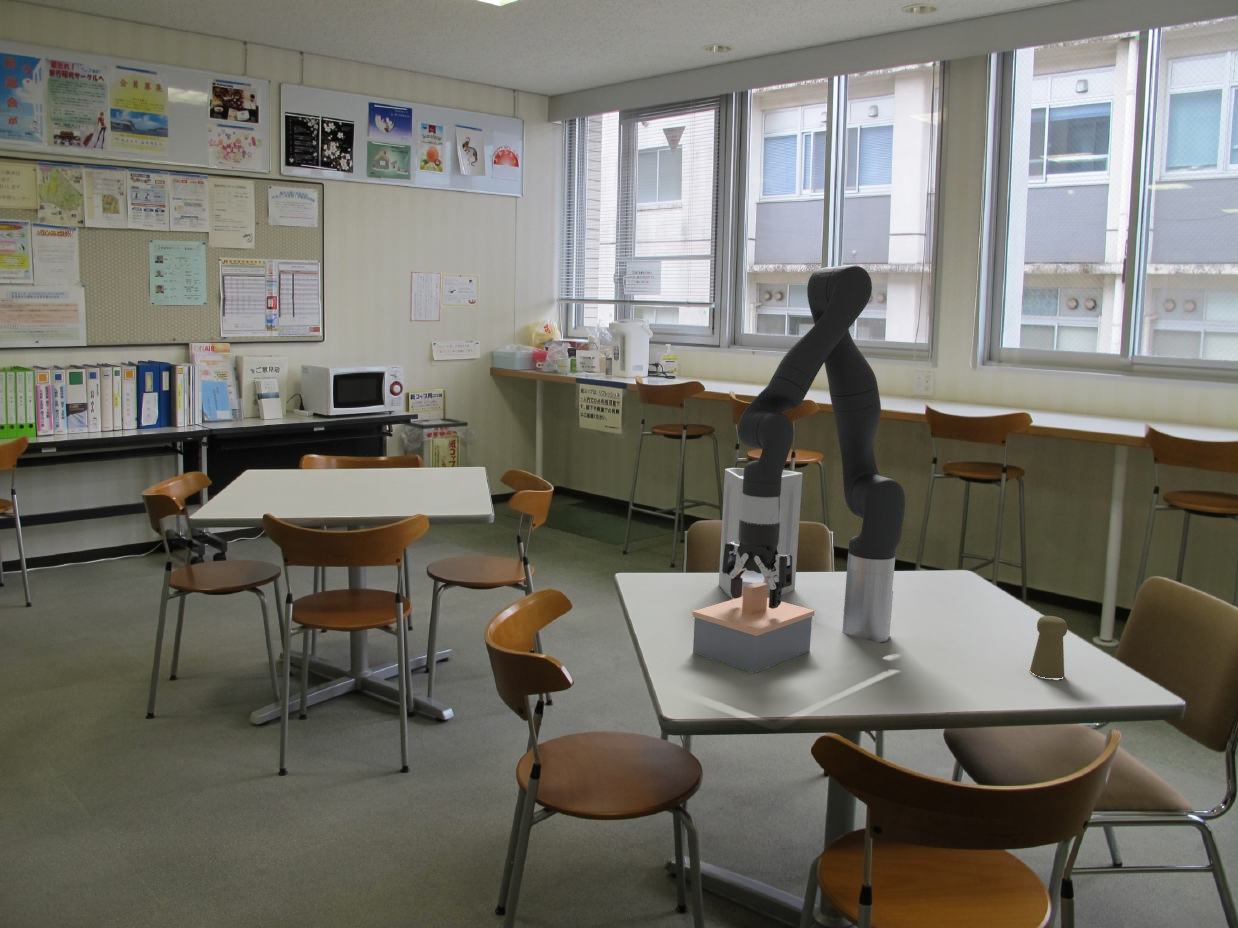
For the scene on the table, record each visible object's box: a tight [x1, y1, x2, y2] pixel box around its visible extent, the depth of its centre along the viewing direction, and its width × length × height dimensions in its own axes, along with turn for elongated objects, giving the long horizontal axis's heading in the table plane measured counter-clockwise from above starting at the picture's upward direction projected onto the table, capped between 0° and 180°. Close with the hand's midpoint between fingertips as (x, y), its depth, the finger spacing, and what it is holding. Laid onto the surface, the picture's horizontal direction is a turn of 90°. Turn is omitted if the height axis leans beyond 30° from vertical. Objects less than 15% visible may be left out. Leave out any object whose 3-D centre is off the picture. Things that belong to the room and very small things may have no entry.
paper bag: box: [718, 467, 803, 600], centre depth 233 cm, size 19×15×28 cm
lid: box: [692, 582, 816, 636], centre depth 188 cm, size 19×15×7 cm
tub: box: [692, 616, 813, 674], centre depth 189 cm, size 18×14×8 cm
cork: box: [1029, 615, 1068, 678], centre depth 185 cm, size 6×6×11 cm
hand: (754, 602), depth 188 cm, fingers open, 8 cm apart
